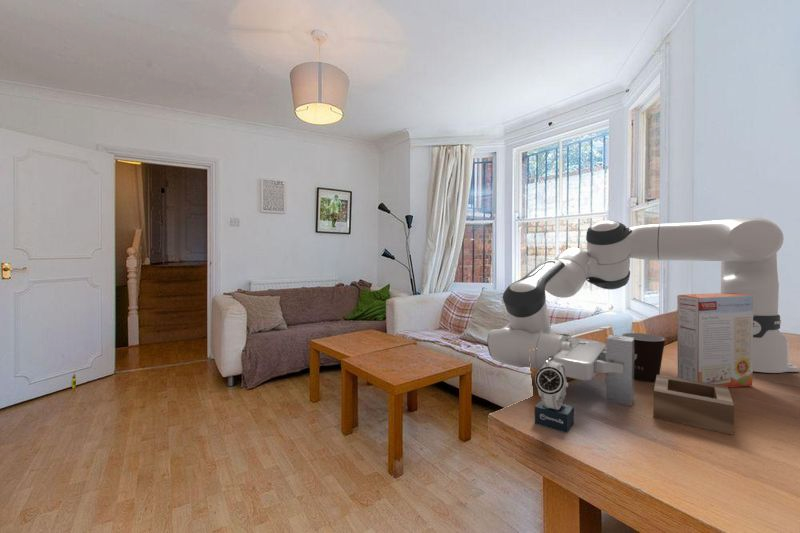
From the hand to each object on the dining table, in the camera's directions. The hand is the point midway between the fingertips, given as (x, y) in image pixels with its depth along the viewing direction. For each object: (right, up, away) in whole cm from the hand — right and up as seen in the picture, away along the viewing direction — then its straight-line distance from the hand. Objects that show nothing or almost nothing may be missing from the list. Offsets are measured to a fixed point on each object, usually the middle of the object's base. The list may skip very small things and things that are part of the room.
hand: (625, 364), depth 74 cm
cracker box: (+26, -7, +9) cm, 29 cm away
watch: (-19, -8, -9) cm, 22 cm away
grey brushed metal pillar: (-1, -7, +1) cm, 8 cm away
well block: (+8, -8, -6) cm, 13 cm away
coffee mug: (+13, -7, +15) cm, 21 cm away
